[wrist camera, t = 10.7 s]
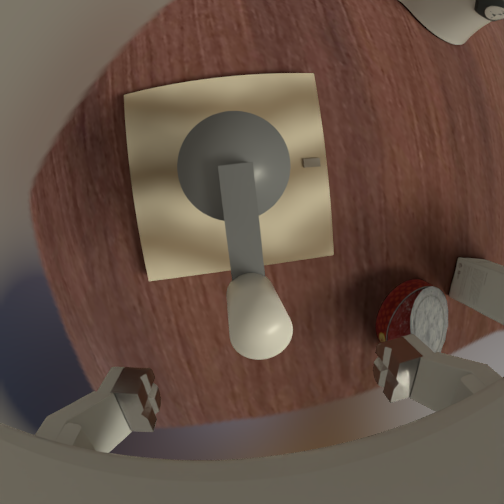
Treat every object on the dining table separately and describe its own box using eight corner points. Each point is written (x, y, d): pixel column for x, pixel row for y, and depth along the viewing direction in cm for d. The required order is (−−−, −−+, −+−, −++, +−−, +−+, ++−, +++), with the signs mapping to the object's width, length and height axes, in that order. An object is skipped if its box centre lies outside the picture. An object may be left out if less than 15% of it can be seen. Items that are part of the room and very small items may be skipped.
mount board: (128, 98, 23) (103, 76, 17) (309, 78, 25) (334, 52, 18) (152, 276, 28) (133, 304, 21) (328, 251, 29) (357, 271, 22)
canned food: (364, 286, 36) (398, 273, 26) (425, 281, 36) (467, 267, 26) (368, 371, 33) (403, 384, 24) (430, 358, 33) (472, 364, 24)
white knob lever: (277, 114, 19) (312, 76, 11) (293, 290, 22) (331, 346, 14) (177, 125, 18) (150, 90, 10) (201, 303, 21) (194, 367, 13)
